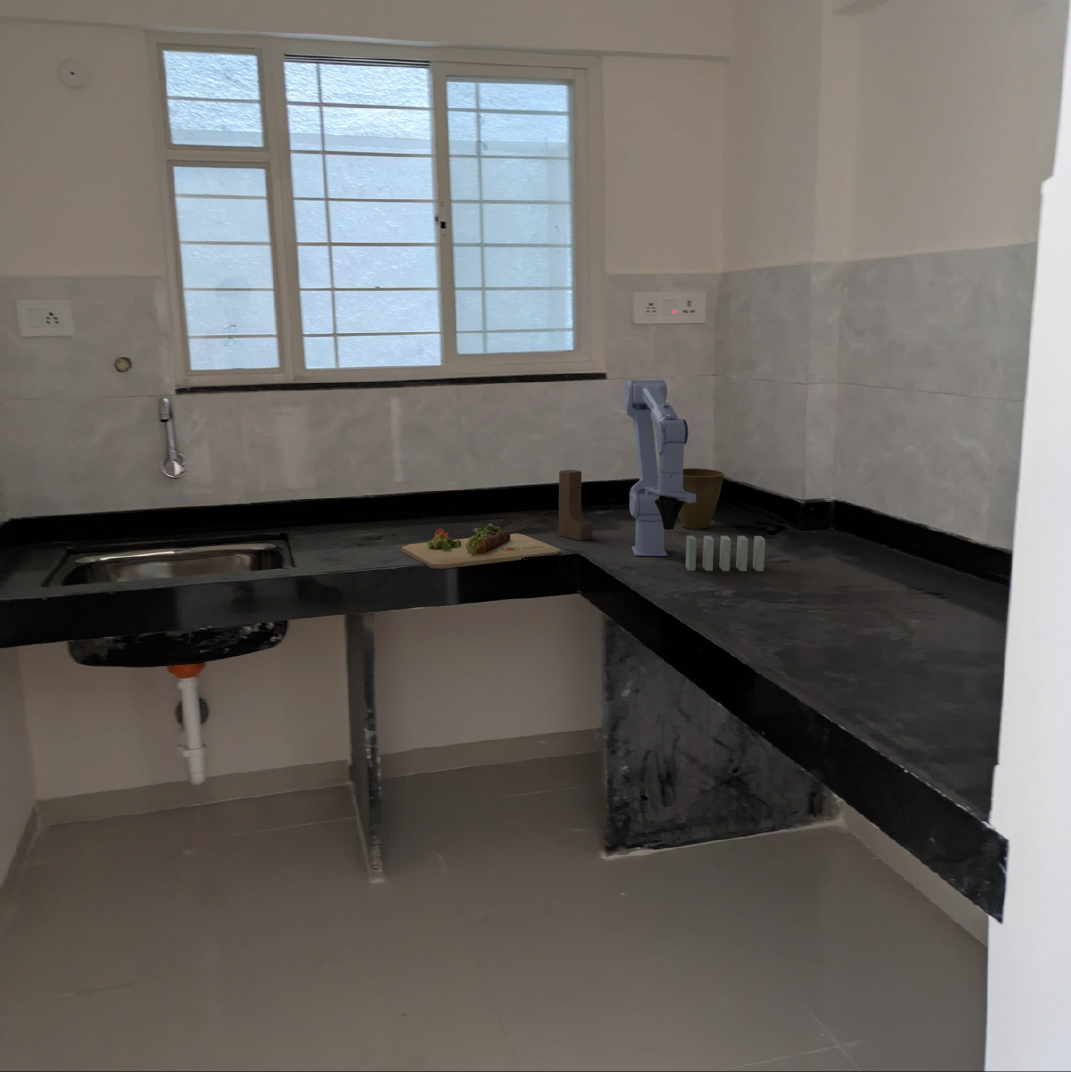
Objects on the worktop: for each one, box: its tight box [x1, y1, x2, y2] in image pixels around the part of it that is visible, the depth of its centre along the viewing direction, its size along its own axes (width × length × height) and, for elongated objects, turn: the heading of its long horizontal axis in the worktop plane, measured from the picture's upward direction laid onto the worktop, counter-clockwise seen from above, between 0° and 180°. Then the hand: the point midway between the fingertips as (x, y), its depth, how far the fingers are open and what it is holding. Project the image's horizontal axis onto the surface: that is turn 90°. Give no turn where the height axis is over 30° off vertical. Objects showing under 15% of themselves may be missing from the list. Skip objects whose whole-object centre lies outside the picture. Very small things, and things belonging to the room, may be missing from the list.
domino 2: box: [702, 535, 715, 572], centre depth 232 cm, size 4×2×8 cm, turn 0°
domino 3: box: [718, 535, 732, 572], centre depth 232 cm, size 4×2×8 cm, turn 0°
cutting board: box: [401, 523, 562, 570], centre depth 248 cm, size 35×23×8 cm
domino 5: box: [752, 535, 766, 572], centre depth 232 cm, size 4×2×8 cm, turn 0°
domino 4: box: [735, 535, 749, 572], centre depth 232 cm, size 4×2×8 cm, turn 0°
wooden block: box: [558, 469, 593, 542], centre depth 265 cm, size 9×4×18 cm, turn 41°
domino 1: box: [685, 535, 697, 572], centre depth 232 cm, size 4×2×8 cm, turn 1°
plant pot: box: [678, 467, 725, 530], centre depth 280 cm, size 15×15×16 cm
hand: (668, 529), depth 231 cm, fingers closed
